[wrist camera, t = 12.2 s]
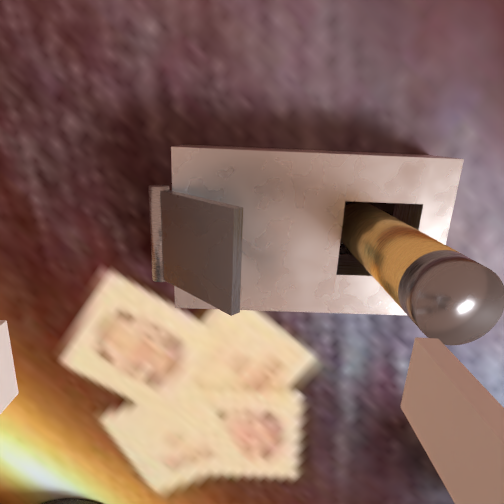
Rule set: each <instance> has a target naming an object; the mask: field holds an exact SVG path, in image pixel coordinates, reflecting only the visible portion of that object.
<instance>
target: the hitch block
mask: <svg viewBox="0 0 504 504" xmlns="http://www.w3.org/2000/svg"><path fill="white" fill-rule="evenodd" d="M463 160H464V159H457V158H449V157H441V156H433V155H417V154H394V153H371V152H348V151H324V150H301V149H278V148H254V147H231V146H208V145H184V144H183V145H178V146H172V147H171V165H172V191H176V192H180V193H184V194H188V195H193V196H197V197H201V198H205V199H210V200H214V201H218V202H222V203H227V204H231V205H235V206H239V207H243V232H242V261H241V290H240V310H260V311H290V312H321V313H352V314H383V315H407V314H406V313H405V312H404V311H403V310H402V309H401V307H400V306H399V305H398V304H397V303H396V302H395V301H394V300H393V299H392V297H391V296H390V295H389V294H388V293H387V292H386V291H385V290H384V289H383V287H382V286H381V285H380V284H379V283H378V282H377V281H376V280H375V279H374V277H373V276H372V275H371V274H370V273H369V272H368V271H367V270H366V269H365V267H364V266H363V265H362V264H361V263H360V262H359V261H358V260H357V259H356V257H355V256H354V255H339V249H340V240H341V232H342V224H343V216H344V207H345V201H355V202H380V203H395V205H394V211H393V217H395V218H397V219H398V220H400V221H402V222H404V223H406V224H408V225H410V226H411V227H413V228H415V229H417V230H419V231H421V232H422V233H424V234H426V235H428V236H430V237H432V238H433V239H435V240H437V241H439V242H441V243H443V244H444V245H446V240H447V235H448V231H449V226H450V221H451V217H452V212H453V207H454V203H455V198H456V193H457V188H458V184H459V179H460V174H461V170H462V165H463ZM175 308H198V309H218V308H216V307H214V306H212V305H210V304H208V303H206V302H204V301H202V300H201V299H199V298H197V297H195V296H193V295H191V294H189V293H187V292H185V291H184V290H182V289H180V288H178V287H176V286H175Z"/></svg>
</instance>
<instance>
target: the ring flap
mask: <svg viewBox="0 0 504 504" xmlns="http://www.w3.org/2000/svg"><path fill="white" fill-rule="evenodd" d="M148 190H149V212H150V234H151V256H152V278H153V280H154V281H156V282H168V283H170V284H172V285H174V286H176V287H178V288H180V289H182V290H184V291H185V292H187V293H189V294H191V295H193V296H195V297H197V298H199V299H201V300H202V301H204V302H206V303H208V304H210V305H212V306H214V307H216V308H218V309H219V310H221V311H223V312H225V313H227V314H229V315H231V316H232V315H234V314H236V313H239V312H240V290H241V261H242V232H243V207H239V206H235V205H231V204H227V203H222V202H218V201H214V200H210V199H205V198H201V197H197V196H193V195H188V194H184V193H180V192H176V191H172V190H170V188H169V186H168V185H149V186H148Z"/></svg>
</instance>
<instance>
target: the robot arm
mask: <svg viewBox="0 0 504 504" xmlns="http://www.w3.org/2000/svg"><path fill="white" fill-rule="evenodd" d="M17 395H18V387H17V381H16V375H15V369H14V363H13V356H12V350H11V344H10V338H9V332H8V326H7V321H5V320H0V414H1V413H2V412H3V411H4V409H5V408H6V407H7V406H8V405H9V404H10V403H11V401H12V400H13V399H14V398H15V397H16V396H17ZM400 407H401V409H402V411H403V413H404V414H405V416H406V418H407V420H408V421H409V423H410V425H411V427H412V428H413V430H414V432H415V434H416V436H417V437H418V439H419V441H420V443H421V444H422V446H423V448H424V450H425V451H426V453H427V455H428V457H429V458H430V460H431V462H432V464H433V466H434V467H435V469H436V471H437V473H438V474H439V476H440V478H441V480H442V481H443V483H444V485H445V487H446V489H447V490H448V492H449V494H450V496H451V497H452V499H453V501H454V503H455V504H504V408H503V407H502V406H501V405H500V404H499V403H498V401H497V400H496V399H495V398H494V397H493V396H492V395H491V394H490V393H489V392H488V391H487V390H486V389H485V388H484V387H483V386H482V384H481V383H480V382H479V381H478V380H477V379H476V378H475V377H474V376H473V375H472V374H471V373H470V372H469V371H468V370H467V369H466V367H465V366H464V365H463V364H462V363H461V362H460V361H459V360H458V359H457V358H456V357H455V356H454V355H453V354H452V353H451V352H450V350H449V349H448V348H447V347H446V346H445V345H444V344H443V343H442V342H441V341H440V340H439V339H437V338H415V341H414V346H413V351H412V355H411V360H410V365H409V369H408V374H407V378H406V383H405V388H404V392H403V397H402V401H401V406H400ZM43 504H98V503H94V502H90V501H85V500H78V499H61V500H54V501H49V502H46V503H43Z"/></svg>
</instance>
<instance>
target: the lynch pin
mask: <svg viewBox="0 0 504 504" xmlns="http://www.w3.org/2000/svg"><path fill="white" fill-rule="evenodd" d="M340 241H341V242H342V243H343V244H344V245H345V246H346V247H347V249H348V250H349V251H350V252H351V253H352V254H353V255H354V256H355V257H356V259H357V260H358V261H359V262H360V263H361V264H362V265H363V266H364V267H365V269H366V270H367V271H368V272H369V273H370V274H371V275H372V276H373V277H374V279H375V280H376V281H377V282H378V283H379V284H380V285H381V286H382V287H383V289H384V290H385V291H386V292H387V293H388V294H389V295H390V296H391V297H392V299H393V300H394V301H395V302H396V303H397V304H398V305H399V306H400V307H401V309H402V310H403V311H404V312H405V313H406V314H407V315H408V316H409V318H410V319H411V320H412V321H413V322H414V323H415V324H416V325H417V326H418V328H419V329H420V330H421V331H422V332H423V333H424V334H425V335H426V336H427V337H428V338H437V339H439V340H440V341H441V342H442V343H443V344H445V345H461V344H465V343H469V342H472V341H474V340H476V339H478V338H480V337H482V336H483V335H485V334H486V333H487V332H489V331H490V330H491V329H492V328H493V327H494V325H495V324H496V323H497V322H498V320H499V319H500V317H501V315H502V313H503V310H504V285H503V283H502V281H501V280H500V278H499V277H498V276H497V275H496V273H494V272H493V271H492V270H490V269H488V268H487V267H485V266H483V265H481V264H479V263H477V262H476V261H474V260H472V259H470V258H468V257H466V256H465V255H463V254H461V253H459V252H457V251H455V250H454V249H452V248H450V247H448V246H446V245H444V244H443V243H441V242H439V241H437V240H435V239H433V238H432V237H430V236H428V235H426V234H424V233H422V232H421V231H419V230H417V229H415V228H413V227H411V226H410V225H408V224H406V223H404V222H402V221H400V220H398V219H397V218H395V217H393V216H391V215H389V214H387V213H386V212H384V211H382V210H380V209H378V208H376V207H375V206H373V205H371V204H369V203H366V202H353V203H350V204H348V205H347V206H345V207H344V216H343V224H342V232H341V240H340Z"/></svg>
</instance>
